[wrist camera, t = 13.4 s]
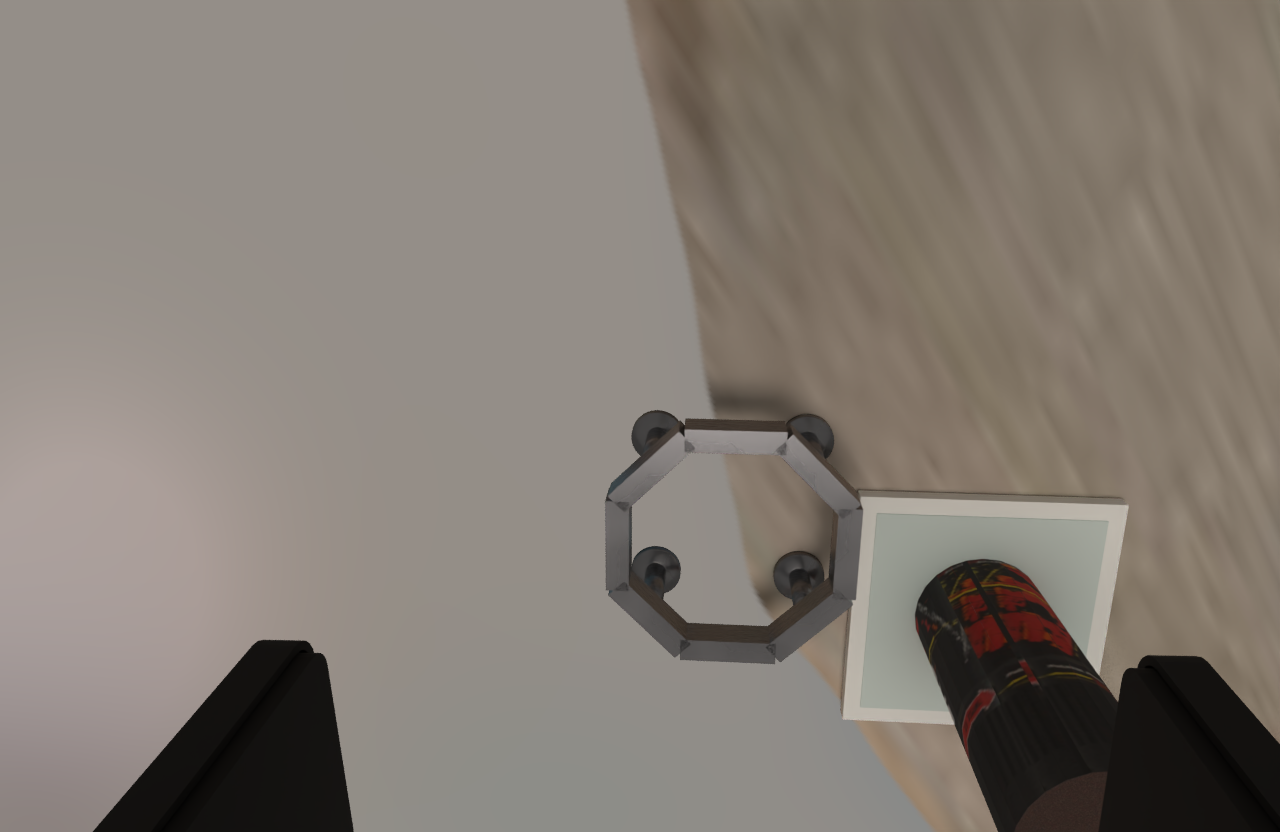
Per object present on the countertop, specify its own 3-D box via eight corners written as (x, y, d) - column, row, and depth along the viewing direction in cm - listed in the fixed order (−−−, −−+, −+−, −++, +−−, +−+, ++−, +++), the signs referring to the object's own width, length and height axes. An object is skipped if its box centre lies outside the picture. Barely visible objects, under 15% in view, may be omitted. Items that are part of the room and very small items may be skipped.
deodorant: (1069, 616, 44) (1241, 852, 30) (971, 692, 46) (1089, 950, 31) (985, 534, 43) (1122, 737, 29) (888, 614, 45) (971, 843, 30)
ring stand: (616, 394, 43) (604, 427, 39) (851, 400, 43) (869, 434, 38) (617, 602, 47) (606, 656, 42) (836, 611, 46) (850, 667, 41)
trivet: (858, 490, 44) (860, 497, 43) (1121, 498, 43) (1130, 506, 42) (840, 709, 47) (842, 720, 47) (1083, 721, 47) (1090, 732, 46)
